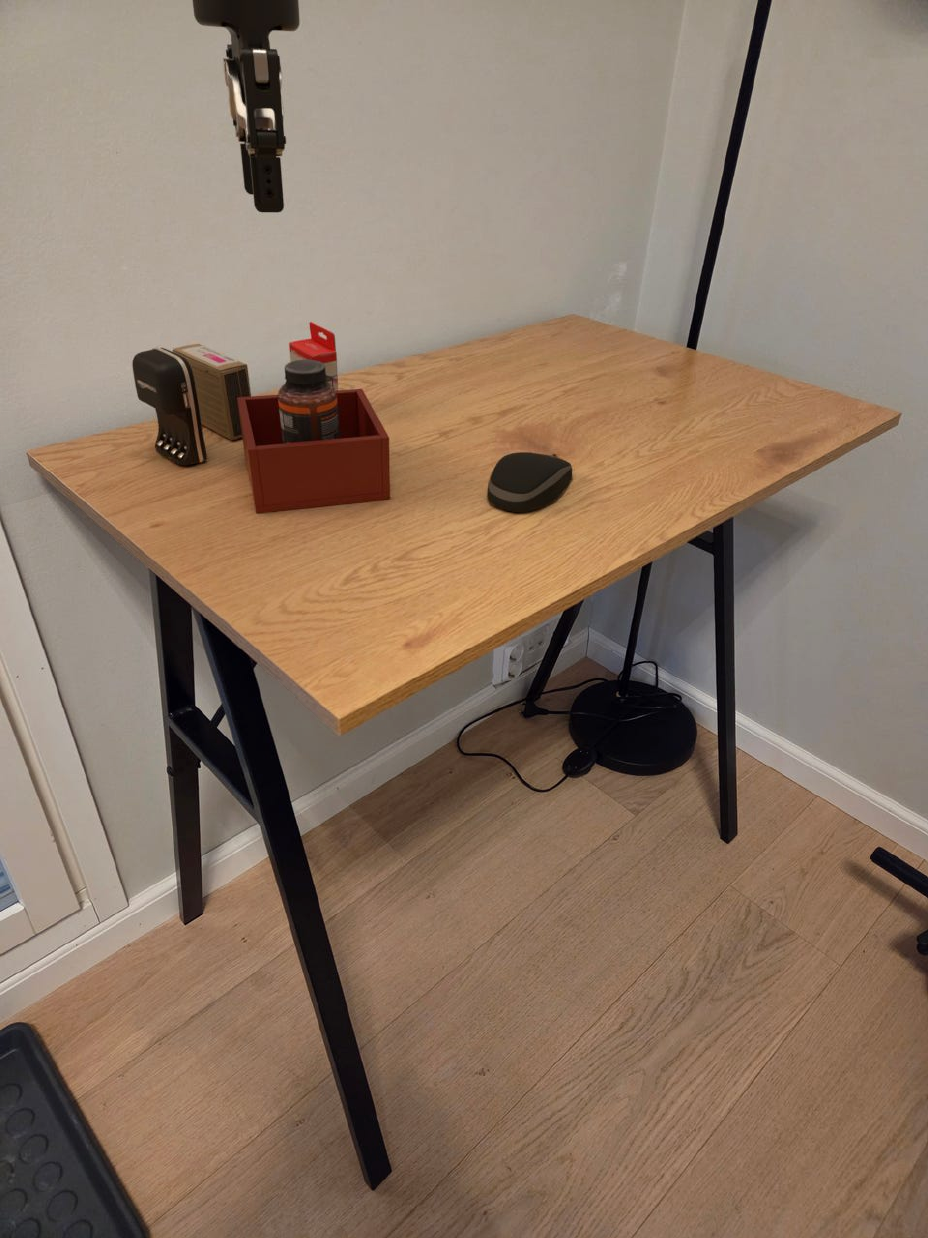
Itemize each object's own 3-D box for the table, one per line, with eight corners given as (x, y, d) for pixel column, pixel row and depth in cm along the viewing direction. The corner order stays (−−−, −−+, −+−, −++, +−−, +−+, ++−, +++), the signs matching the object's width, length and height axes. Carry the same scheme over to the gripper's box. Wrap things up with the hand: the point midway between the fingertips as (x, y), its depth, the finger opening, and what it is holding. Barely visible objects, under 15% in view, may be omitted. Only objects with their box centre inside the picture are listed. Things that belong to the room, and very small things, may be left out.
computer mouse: (585, 478, 87) (590, 444, 85) (530, 521, 79) (534, 485, 77) (531, 460, 90) (534, 427, 88) (472, 500, 82) (474, 465, 80)
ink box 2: (293, 406, 100) (285, 324, 94) (316, 401, 102) (310, 320, 96) (317, 422, 97) (311, 337, 91) (341, 415, 99) (336, 332, 93)
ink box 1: (258, 434, 93) (249, 363, 88) (230, 442, 91) (220, 370, 86) (210, 408, 99) (200, 341, 94) (183, 416, 97) (170, 347, 92)
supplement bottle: (347, 460, 87) (342, 357, 80) (335, 485, 82) (328, 377, 75) (294, 456, 87) (284, 353, 80) (278, 480, 82) (266, 373, 76)
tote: (256, 513, 78) (247, 449, 74) (244, 455, 89) (236, 397, 85) (390, 499, 82) (389, 437, 78) (364, 445, 92) (362, 388, 88)
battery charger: (145, 452, 88) (122, 349, 81) (175, 442, 91) (156, 342, 84) (179, 472, 85) (158, 367, 78) (210, 462, 87) (192, 358, 80)
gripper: (182, -53, 60) (211, 188, 69) (188, -71, 49) (222, 218, 58) (282, -44, 62) (297, 189, 71) (310, -60, 51) (323, 218, 61)
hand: (263, 202), depth 65 cm, fingers open, 8 cm apart
